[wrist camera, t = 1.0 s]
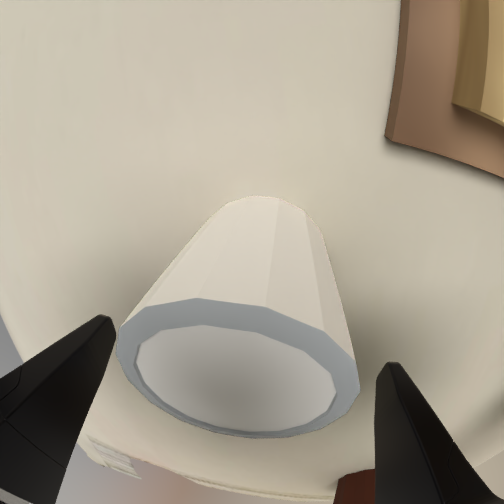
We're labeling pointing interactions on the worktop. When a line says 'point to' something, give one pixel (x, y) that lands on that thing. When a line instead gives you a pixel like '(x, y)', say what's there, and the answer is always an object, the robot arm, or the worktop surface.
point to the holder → (451, 81)
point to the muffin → (356, 488)
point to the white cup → (245, 327)
